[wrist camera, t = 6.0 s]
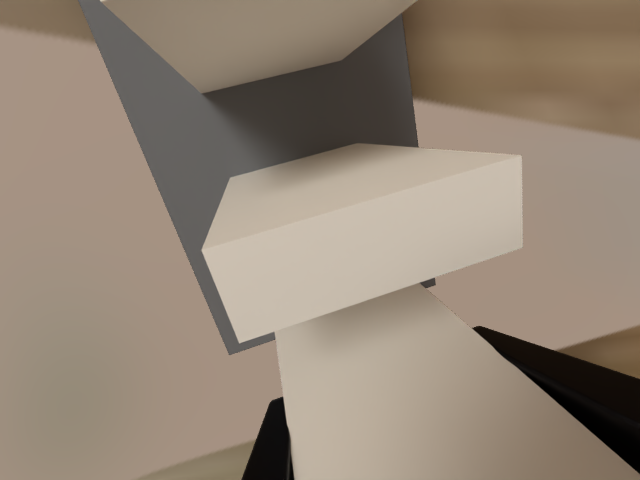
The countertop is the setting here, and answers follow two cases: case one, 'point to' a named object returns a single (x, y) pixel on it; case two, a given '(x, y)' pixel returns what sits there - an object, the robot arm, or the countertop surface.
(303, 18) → the domino
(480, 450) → the domino
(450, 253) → the domino
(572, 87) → the countertop surface
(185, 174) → the rubber mat
